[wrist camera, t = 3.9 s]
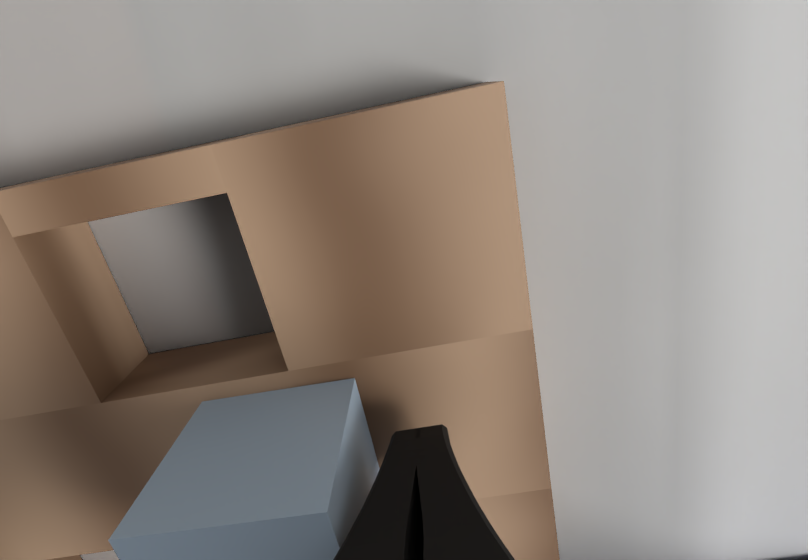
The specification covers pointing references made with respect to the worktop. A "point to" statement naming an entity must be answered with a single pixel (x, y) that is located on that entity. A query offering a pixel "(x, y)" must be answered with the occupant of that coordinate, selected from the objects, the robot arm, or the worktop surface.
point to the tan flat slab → (281, 313)
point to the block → (257, 480)
